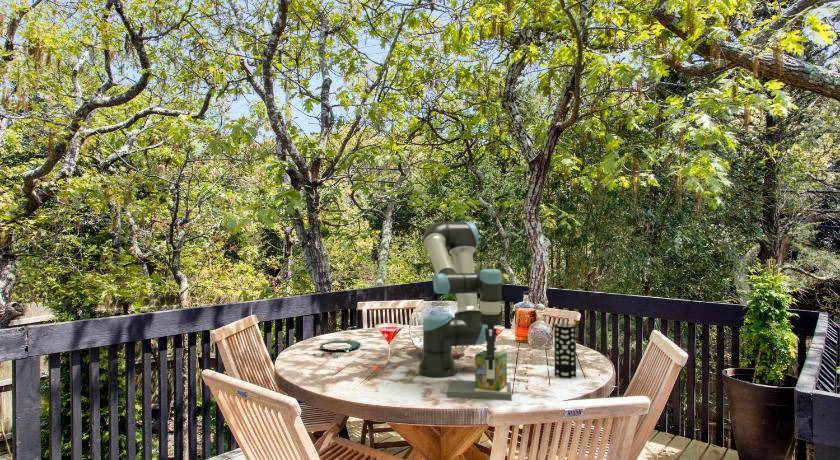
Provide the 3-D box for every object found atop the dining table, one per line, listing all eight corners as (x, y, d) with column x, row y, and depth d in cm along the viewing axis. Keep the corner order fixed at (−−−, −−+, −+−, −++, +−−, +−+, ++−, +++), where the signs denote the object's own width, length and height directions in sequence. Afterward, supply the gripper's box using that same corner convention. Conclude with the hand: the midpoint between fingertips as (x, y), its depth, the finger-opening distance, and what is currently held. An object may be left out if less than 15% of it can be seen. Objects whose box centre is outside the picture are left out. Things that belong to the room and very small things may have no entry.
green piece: (366, 345, 260) (366, 340, 260) (341, 360, 231) (341, 355, 231) (331, 343, 266) (331, 339, 266) (302, 358, 237) (302, 353, 237)
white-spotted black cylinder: (564, 379, 198) (564, 327, 198) (550, 374, 205) (549, 324, 206) (580, 376, 202) (580, 326, 202) (565, 371, 209) (565, 322, 209)
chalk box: (499, 391, 175) (498, 348, 175) (474, 387, 180) (474, 345, 180) (507, 384, 183) (507, 343, 184) (484, 381, 188) (483, 340, 188)
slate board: (447, 397, 177) (446, 390, 177) (450, 385, 191) (450, 379, 191) (511, 400, 173) (511, 393, 173) (510, 387, 187) (510, 381, 187)
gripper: (501, 318, 169) (501, 383, 169) (501, 308, 193) (501, 364, 193) (478, 318, 170) (479, 382, 170) (481, 307, 194) (481, 364, 194)
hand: (490, 373), depth 181 cm, fingers open, 12 cm apart
